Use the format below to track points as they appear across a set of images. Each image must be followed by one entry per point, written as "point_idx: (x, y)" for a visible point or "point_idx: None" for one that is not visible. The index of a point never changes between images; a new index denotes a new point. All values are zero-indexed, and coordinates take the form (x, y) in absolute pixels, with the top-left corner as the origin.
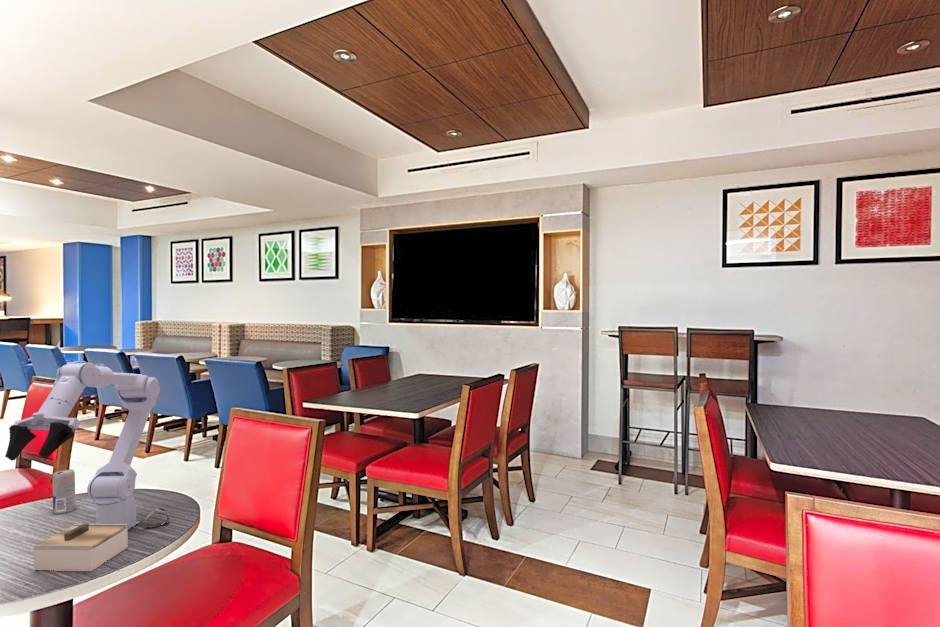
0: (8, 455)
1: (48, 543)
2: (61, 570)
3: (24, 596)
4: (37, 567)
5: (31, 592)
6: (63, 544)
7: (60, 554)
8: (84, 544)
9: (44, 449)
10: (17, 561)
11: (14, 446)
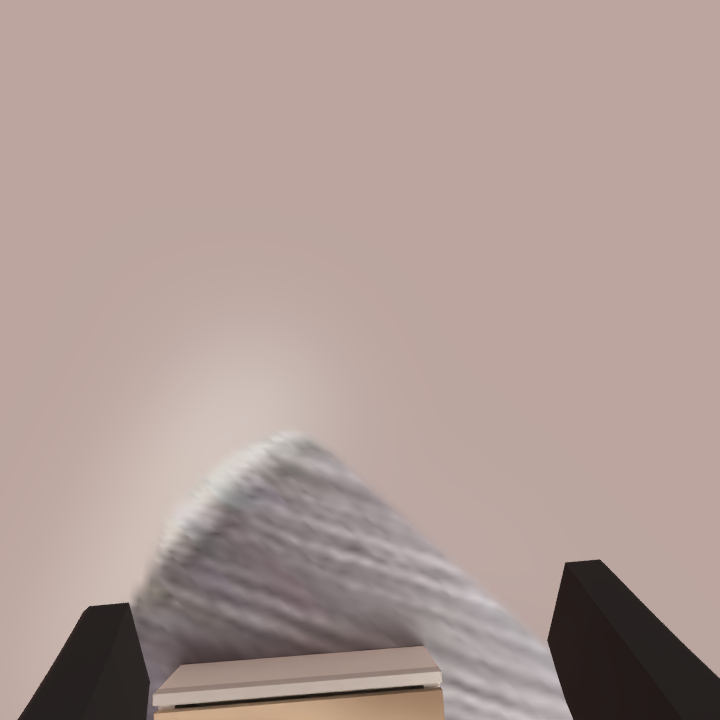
0: (570, 574)
1: (397, 707)
2: (309, 655)
3: (286, 471)
4: (411, 649)
5: (285, 497)
6: (313, 704)
7: (310, 671)
8: (207, 714)
9: (50, 669)
10: None
11: (638, 710)
